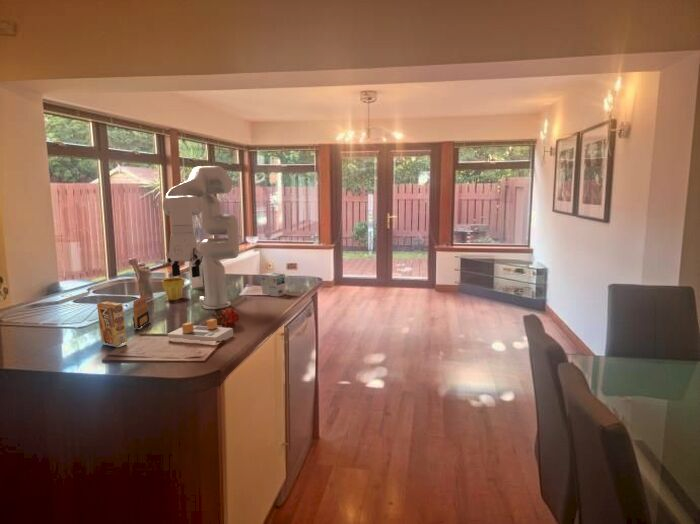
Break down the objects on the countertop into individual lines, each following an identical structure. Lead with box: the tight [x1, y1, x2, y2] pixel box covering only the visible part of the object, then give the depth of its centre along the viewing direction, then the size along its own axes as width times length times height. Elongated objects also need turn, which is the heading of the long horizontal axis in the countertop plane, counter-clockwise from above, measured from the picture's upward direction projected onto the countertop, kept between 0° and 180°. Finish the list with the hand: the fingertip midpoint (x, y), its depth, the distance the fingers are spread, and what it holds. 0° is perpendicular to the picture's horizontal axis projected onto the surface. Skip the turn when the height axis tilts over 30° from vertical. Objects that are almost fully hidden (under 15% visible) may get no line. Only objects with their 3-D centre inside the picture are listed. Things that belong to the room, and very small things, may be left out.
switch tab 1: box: [181, 321, 194, 333], centre depth 172 cm, size 2×3×3 cm
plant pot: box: [161, 277, 185, 301], centre depth 241 cm, size 10×10×10 cm
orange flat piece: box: [132, 294, 150, 329], centre depth 192 cm, size 11×2×12 cm, turn 0°
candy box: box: [96, 301, 128, 345], centre depth 169 cm, size 9×4×15 cm, turn 61°
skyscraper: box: [188, 239, 205, 290], centre depth 264 cm, size 8×8×28 cm
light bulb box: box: [260, 272, 287, 297], centre depth 242 cm, size 11×7×11 cm, turn 58°
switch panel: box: [167, 325, 234, 341], centre depth 174 cm, size 20×11×3 cm, turn 72°
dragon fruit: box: [214, 306, 240, 328], centre depth 188 cm, size 8×8×12 cm
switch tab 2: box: [205, 318, 218, 329], centre depth 176 cm, size 2×3×3 cm
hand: (186, 276), depth 177 cm, fingers open, 9 cm apart
